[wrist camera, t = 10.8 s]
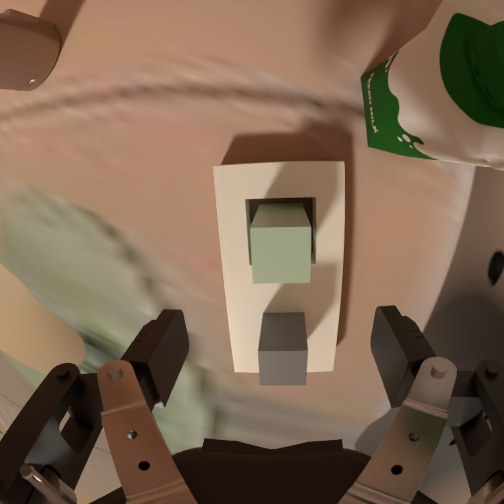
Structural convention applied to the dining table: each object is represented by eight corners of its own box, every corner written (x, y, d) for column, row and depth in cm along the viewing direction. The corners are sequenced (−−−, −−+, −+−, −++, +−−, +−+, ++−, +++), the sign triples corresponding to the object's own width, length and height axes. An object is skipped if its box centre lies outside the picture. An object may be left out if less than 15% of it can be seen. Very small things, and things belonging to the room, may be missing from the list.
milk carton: (349, 69, 22) (453, -45, 3) (430, 77, 21) (573, 30, 2) (359, 156, 25) (505, 178, 6) (439, 158, 24) (598, 193, 5)
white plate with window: (220, 164, 27) (192, 171, 18) (337, 160, 25) (363, 164, 17) (238, 355, 34) (226, 410, 25) (329, 354, 33) (339, 410, 24)
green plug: (259, 204, 28) (249, 227, 19) (302, 203, 27) (311, 226, 19) (261, 244, 29) (253, 283, 20) (302, 243, 28) (310, 282, 20)
